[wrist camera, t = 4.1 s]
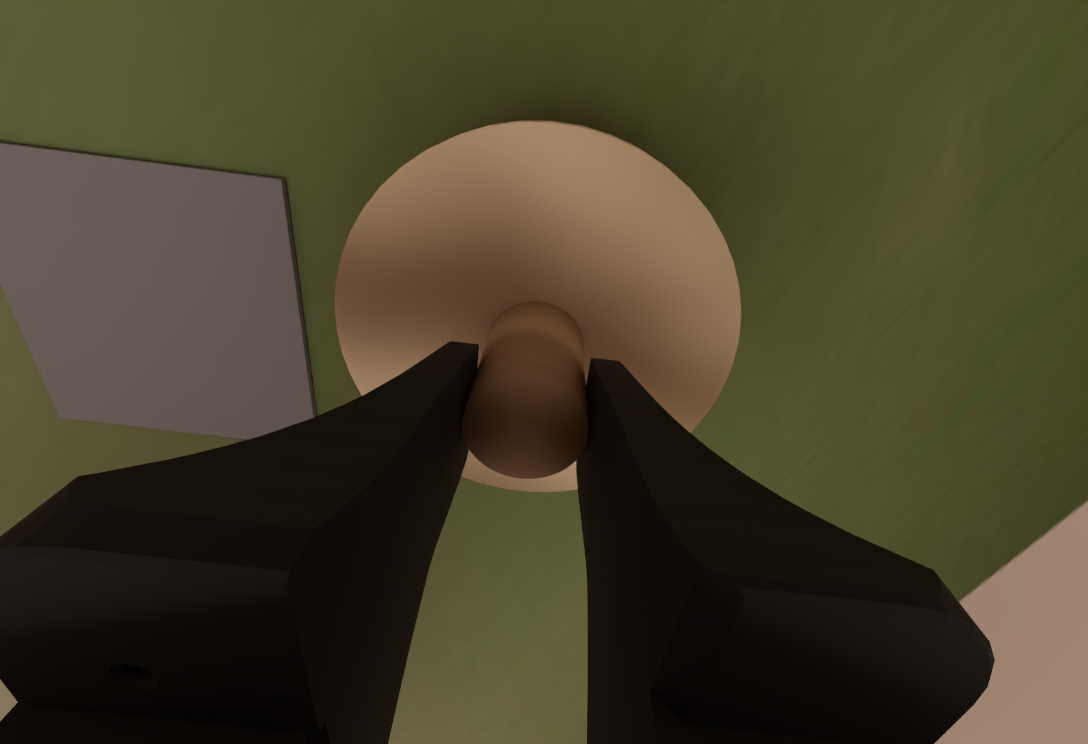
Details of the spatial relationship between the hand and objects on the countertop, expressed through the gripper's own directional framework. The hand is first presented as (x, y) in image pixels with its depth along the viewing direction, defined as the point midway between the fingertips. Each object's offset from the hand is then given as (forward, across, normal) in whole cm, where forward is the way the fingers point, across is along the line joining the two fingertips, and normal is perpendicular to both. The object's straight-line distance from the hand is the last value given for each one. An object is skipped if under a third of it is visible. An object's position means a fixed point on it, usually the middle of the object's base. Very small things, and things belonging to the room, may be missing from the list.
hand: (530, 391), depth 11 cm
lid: (+3, 0, 0) cm, 3 cm away
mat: (+9, +16, +4) cm, 19 cm away
